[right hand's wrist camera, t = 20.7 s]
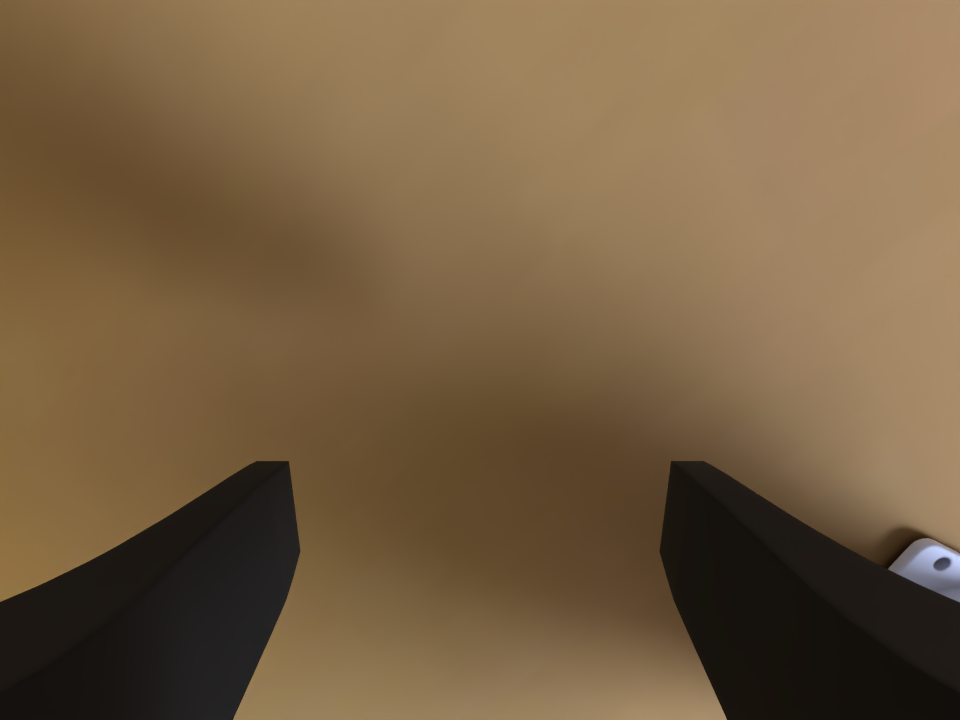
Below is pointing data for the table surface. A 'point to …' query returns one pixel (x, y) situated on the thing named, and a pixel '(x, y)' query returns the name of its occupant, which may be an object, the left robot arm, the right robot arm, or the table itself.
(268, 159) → the table surface
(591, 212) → the table surface
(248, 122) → the table surface
